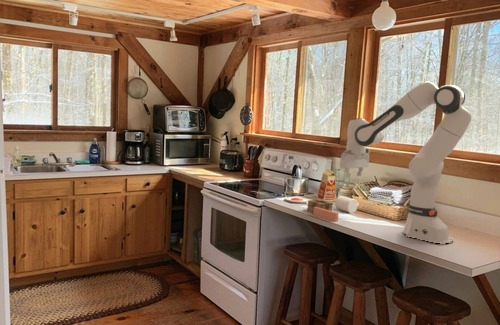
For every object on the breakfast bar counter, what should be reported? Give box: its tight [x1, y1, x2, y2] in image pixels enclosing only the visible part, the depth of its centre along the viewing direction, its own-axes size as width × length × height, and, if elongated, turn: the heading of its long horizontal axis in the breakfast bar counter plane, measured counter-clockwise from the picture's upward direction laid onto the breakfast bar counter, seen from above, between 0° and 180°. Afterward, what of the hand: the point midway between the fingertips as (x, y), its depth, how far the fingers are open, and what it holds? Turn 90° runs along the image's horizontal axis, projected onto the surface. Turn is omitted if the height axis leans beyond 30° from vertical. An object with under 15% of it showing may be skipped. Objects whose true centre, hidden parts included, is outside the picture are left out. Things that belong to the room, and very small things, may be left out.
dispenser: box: [306, 198, 334, 214], centre depth 246 cm, size 10×9×6 cm
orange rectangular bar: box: [312, 207, 340, 222], centre depth 234 cm, size 15×2×4 cm, turn 40°
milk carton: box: [316, 167, 337, 202], centre depth 281 cm, size 9×9×20 cm
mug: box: [334, 195, 360, 214], centre depth 255 cm, size 12×10×8 cm
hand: (353, 176), depth 230 cm, fingers open, 8 cm apart
